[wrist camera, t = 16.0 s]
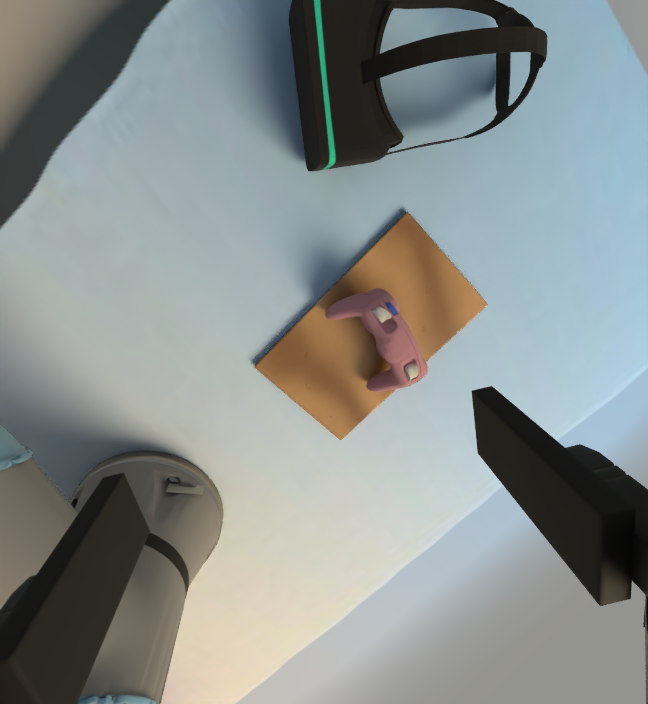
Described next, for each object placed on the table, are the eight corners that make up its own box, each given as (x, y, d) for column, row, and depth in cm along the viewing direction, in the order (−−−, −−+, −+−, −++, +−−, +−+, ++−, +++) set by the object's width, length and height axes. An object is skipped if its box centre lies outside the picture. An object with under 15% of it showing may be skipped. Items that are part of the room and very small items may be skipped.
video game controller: (397, 366, 42) (446, 374, 36) (366, 394, 41) (412, 407, 35) (352, 284, 39) (398, 277, 33) (317, 310, 38) (358, 308, 32)
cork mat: (340, 438, 43) (340, 440, 43) (254, 365, 40) (254, 367, 40) (485, 303, 40) (488, 304, 40) (406, 211, 37) (407, 211, 36)
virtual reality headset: (287, 13, 31) (312, -75, 22) (491, 4, 34) (591, -78, 24) (307, 173, 34) (335, 157, 25) (489, 153, 37) (575, 132, 28)
